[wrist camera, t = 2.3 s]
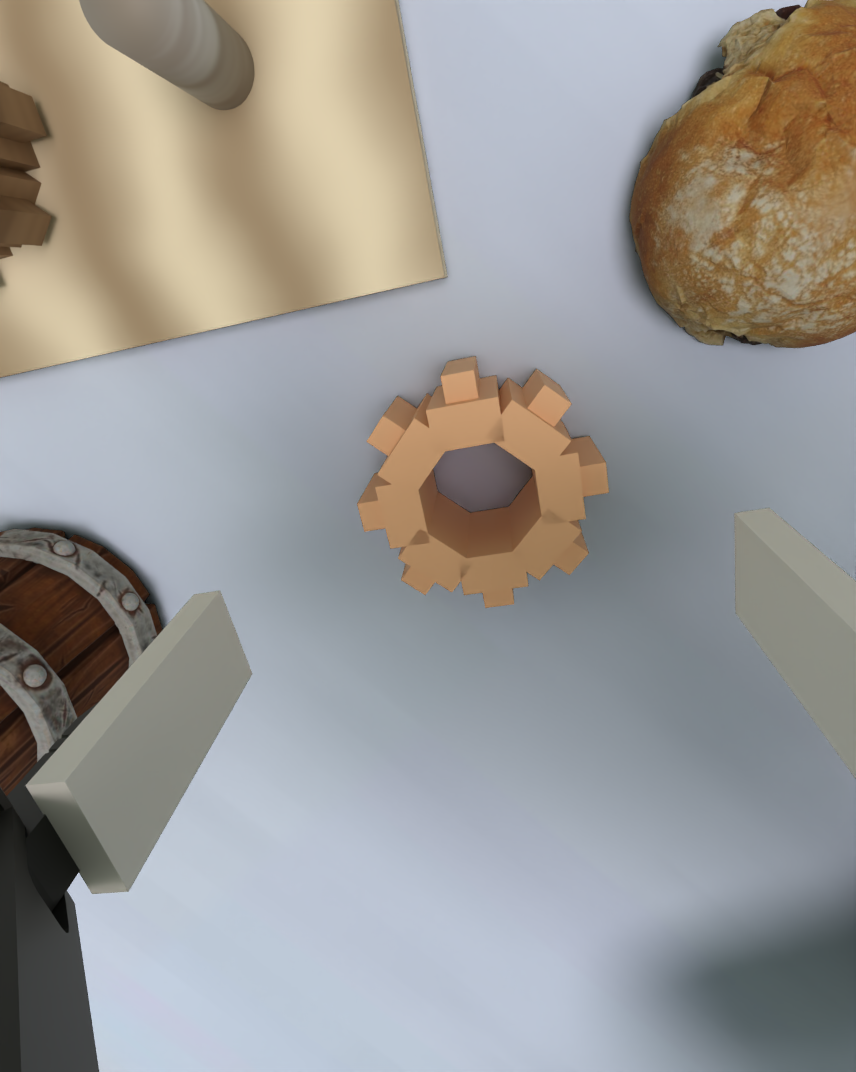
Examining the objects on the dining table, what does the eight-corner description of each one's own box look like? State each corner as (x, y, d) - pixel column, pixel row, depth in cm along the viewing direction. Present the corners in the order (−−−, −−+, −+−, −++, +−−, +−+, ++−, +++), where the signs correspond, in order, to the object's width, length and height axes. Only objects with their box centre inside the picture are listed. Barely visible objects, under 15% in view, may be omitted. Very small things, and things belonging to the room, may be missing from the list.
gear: (576, 333, 25) (597, 347, 20) (599, 544, 28) (620, 596, 24) (354, 379, 26) (325, 401, 22) (401, 573, 30) (386, 627, 25)
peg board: (348, -281, 18) (256, -643, 11) (447, 276, 24) (430, 277, 17) (-270, -40, 22) (-638, -193, 15) (-55, 390, 28) (-243, 430, 21)
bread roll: (598, 289, 28) (619, 396, 22) (658, -17, 20) (711, 34, 14) (828, 294, 27) (907, 405, 21) (985, -24, 19) (1169, 28, 14)
